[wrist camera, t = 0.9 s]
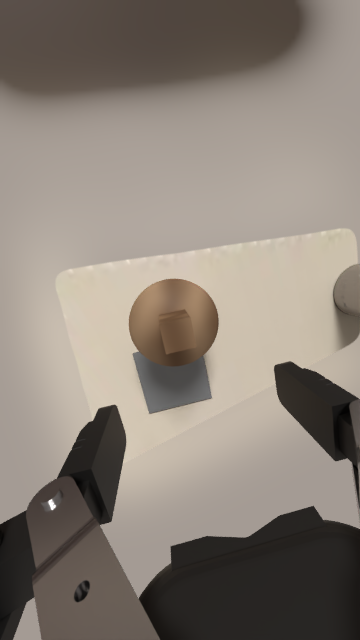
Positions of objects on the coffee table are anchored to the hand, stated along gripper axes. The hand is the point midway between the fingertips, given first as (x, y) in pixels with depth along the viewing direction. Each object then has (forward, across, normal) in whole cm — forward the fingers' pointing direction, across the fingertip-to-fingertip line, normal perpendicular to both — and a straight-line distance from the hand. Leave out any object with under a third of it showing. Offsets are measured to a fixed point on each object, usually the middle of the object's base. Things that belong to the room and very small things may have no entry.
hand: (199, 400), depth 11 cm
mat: (+27, +2, +12) cm, 30 cm away
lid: (+17, 0, 0) cm, 17 cm away
